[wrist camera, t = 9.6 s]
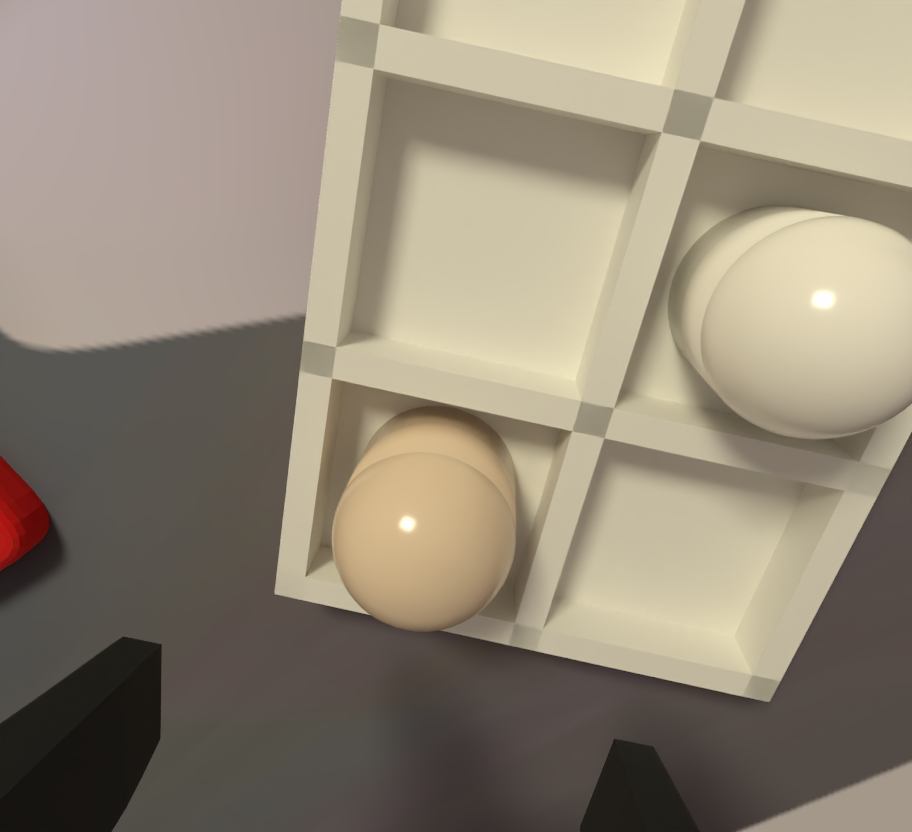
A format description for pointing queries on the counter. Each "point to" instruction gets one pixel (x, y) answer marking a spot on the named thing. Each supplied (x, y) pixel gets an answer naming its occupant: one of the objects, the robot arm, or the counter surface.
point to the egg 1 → (427, 520)
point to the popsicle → (19, 516)
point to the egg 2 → (799, 319)
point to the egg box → (595, 303)
